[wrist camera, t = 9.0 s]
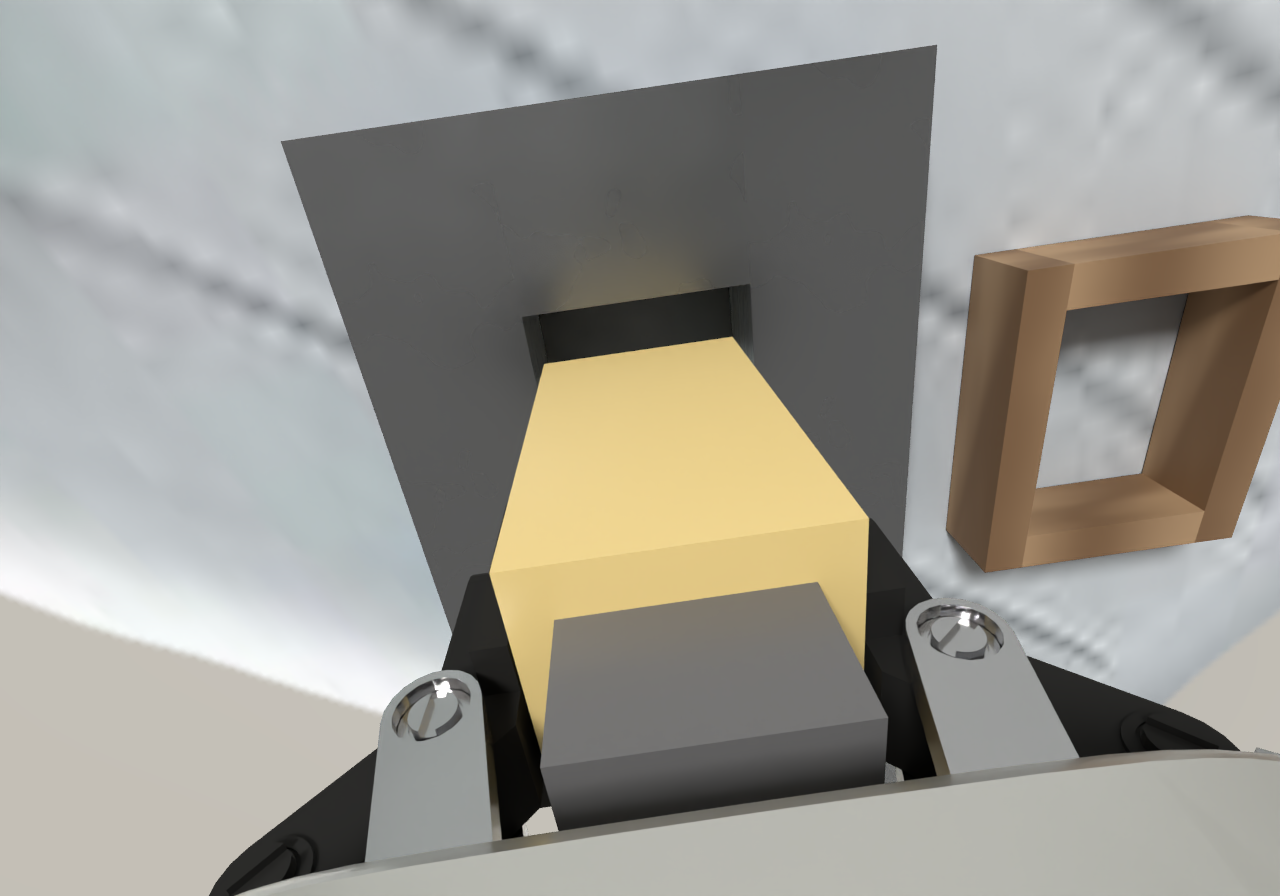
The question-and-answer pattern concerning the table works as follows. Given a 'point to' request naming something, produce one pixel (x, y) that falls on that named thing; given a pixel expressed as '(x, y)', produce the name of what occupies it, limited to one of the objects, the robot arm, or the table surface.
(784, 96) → the port
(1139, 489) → the frame
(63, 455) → the table surface
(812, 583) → the plug
